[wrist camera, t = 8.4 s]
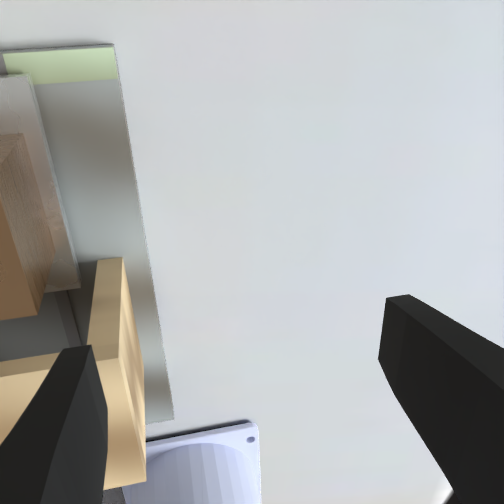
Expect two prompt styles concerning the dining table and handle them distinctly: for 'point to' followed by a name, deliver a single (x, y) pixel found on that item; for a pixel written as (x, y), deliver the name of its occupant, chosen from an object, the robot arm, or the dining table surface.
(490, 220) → the dining table surface
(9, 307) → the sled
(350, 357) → the dining table surface
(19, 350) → the track
